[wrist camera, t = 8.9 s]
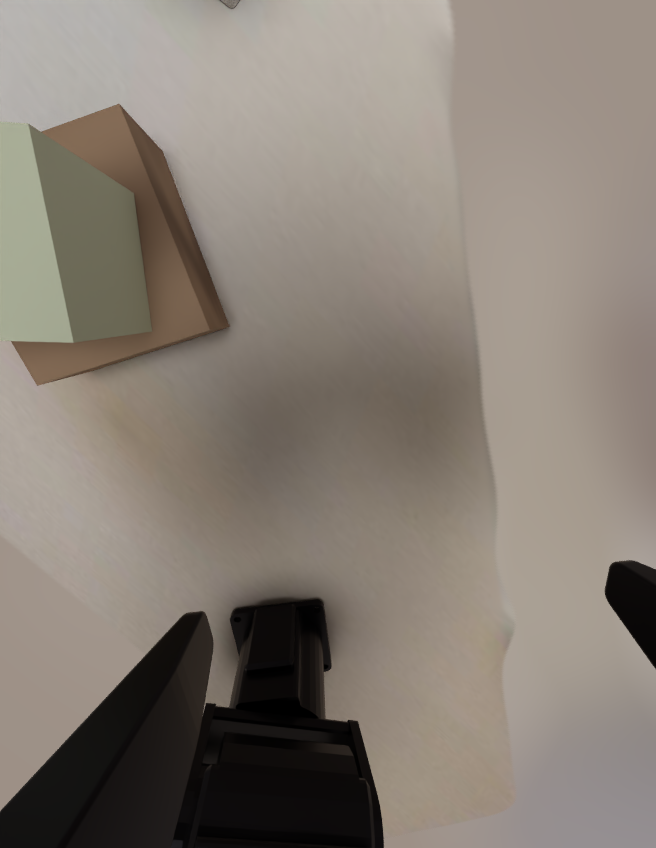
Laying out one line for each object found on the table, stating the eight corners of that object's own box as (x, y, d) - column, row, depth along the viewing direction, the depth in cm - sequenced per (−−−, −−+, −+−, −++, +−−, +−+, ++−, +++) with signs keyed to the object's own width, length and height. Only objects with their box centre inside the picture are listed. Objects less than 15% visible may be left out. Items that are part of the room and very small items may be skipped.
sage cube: (151, 331, 14) (73, 342, 9) (27, 328, 14) (-118, 337, 9) (133, 193, 13) (28, 123, 8) (-8, 186, 12) (-205, 109, 8)
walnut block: (231, 326, 18) (210, 330, 14) (93, 370, 18) (37, 385, 15) (165, 154, 16) (118, 103, 12) (8, 209, 16) (-87, 177, 12)
